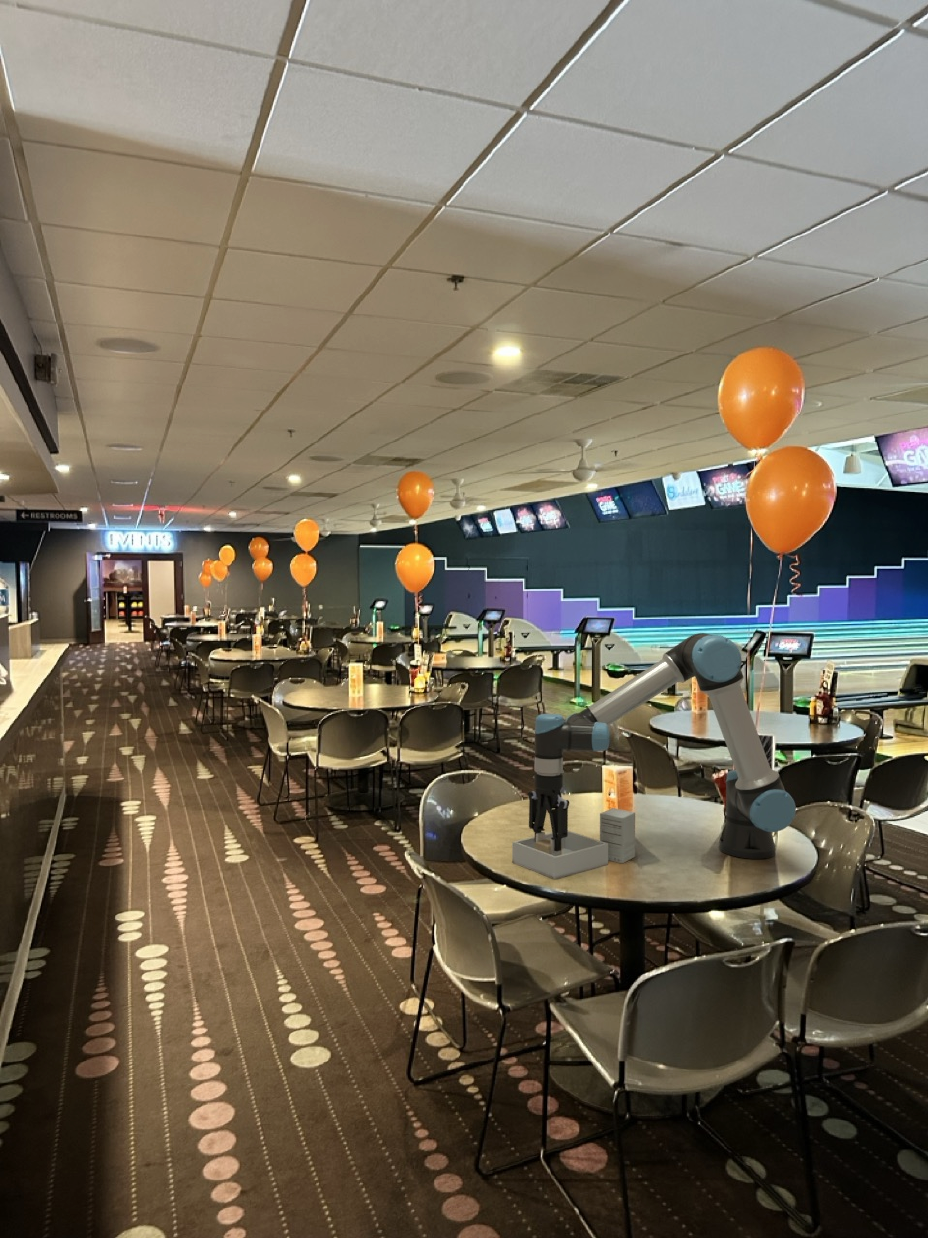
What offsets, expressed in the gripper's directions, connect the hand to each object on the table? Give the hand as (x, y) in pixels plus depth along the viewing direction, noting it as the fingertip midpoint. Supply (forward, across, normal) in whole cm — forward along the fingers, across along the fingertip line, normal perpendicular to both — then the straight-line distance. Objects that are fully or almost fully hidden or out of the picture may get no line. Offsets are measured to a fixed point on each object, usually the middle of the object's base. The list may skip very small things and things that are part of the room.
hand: (547, 859), depth 220 cm
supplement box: (+2, -6, -21) cm, 22 cm away
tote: (+2, 0, -5) cm, 5 cm away
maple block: (0, 0, 0) cm, 1 cm away
